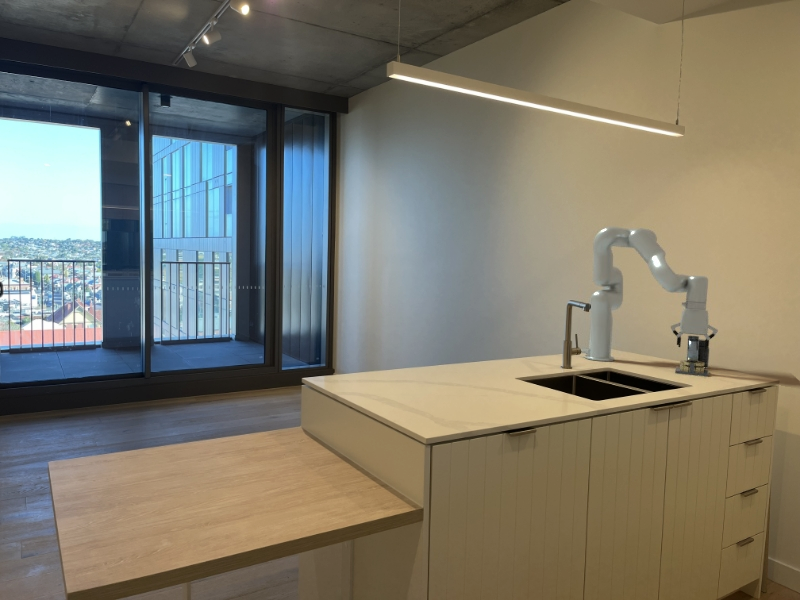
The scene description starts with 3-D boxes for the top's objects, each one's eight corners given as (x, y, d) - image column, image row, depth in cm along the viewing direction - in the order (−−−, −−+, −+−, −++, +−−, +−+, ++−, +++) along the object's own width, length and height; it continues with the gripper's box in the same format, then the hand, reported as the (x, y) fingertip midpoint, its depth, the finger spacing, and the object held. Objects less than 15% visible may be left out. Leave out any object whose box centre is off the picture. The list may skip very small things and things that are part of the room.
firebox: (675, 373, 247) (675, 362, 247) (675, 369, 258) (676, 358, 257) (708, 376, 242) (709, 365, 241) (707, 372, 252) (708, 361, 252)
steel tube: (686, 370, 249) (687, 336, 248) (686, 369, 252) (687, 335, 252) (697, 371, 247) (699, 336, 246) (697, 370, 251) (699, 336, 250)
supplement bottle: (687, 366, 268) (688, 338, 267) (698, 365, 271) (699, 338, 270) (700, 368, 262) (702, 340, 261) (711, 368, 265) (713, 340, 264)
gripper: (672, 305, 249) (668, 346, 250) (720, 308, 241) (716, 351, 242) (672, 304, 255) (669, 345, 256) (719, 307, 248) (715, 349, 249)
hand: (692, 348), depth 249 cm, fingers open, 9 cm apart
